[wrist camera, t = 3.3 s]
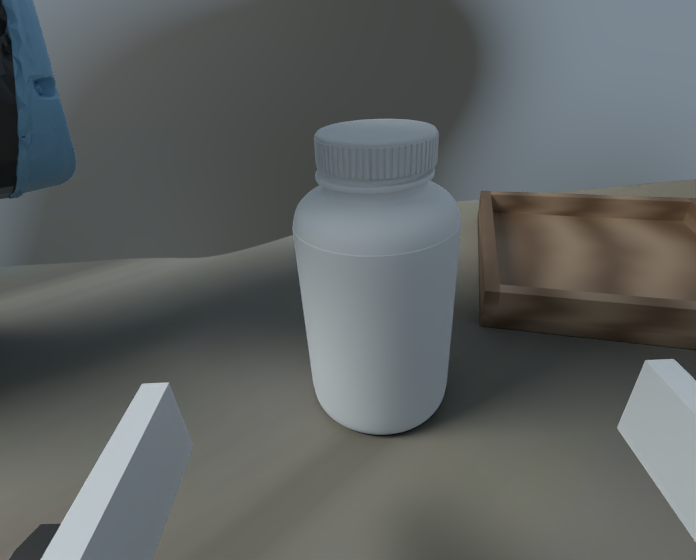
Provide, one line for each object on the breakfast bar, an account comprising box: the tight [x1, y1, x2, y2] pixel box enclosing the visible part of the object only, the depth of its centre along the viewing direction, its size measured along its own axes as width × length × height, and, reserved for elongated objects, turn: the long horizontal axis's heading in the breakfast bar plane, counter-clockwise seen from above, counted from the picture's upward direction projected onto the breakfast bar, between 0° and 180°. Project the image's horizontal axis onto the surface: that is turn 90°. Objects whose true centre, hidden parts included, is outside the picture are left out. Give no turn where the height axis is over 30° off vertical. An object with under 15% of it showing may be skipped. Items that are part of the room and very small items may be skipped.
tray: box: [478, 191, 696, 350], centre depth 34 cm, size 20×20×3 cm
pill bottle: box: [292, 119, 461, 435], centre depth 21 cm, size 8×8×15 cm
